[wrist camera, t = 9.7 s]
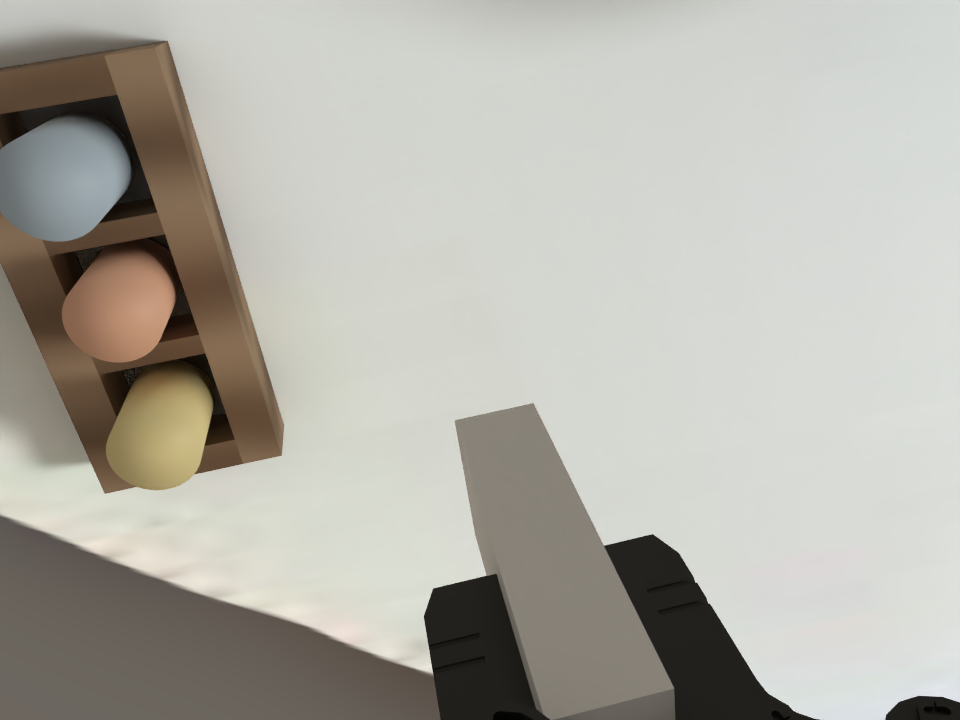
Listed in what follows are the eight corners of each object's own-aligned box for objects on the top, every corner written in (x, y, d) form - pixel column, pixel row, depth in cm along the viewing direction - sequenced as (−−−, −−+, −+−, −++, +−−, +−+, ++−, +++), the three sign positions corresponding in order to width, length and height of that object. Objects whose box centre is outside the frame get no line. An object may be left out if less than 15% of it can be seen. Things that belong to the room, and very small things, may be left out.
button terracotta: (80, 245, 37) (46, 286, 32) (167, 229, 37) (145, 267, 33) (111, 322, 39) (82, 370, 34) (192, 306, 39) (176, 352, 34)
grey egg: (19, 120, 33) (-30, 146, 28) (116, 104, 33) (83, 126, 29) (56, 212, 35) (15, 250, 30) (147, 195, 35) (121, 230, 31)
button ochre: (119, 369, 38) (91, 424, 34) (201, 352, 39) (185, 405, 34) (146, 437, 40) (124, 498, 36) (224, 420, 41) (212, 479, 36)
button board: (-48, 76, 33) (-79, 85, 31) (167, 41, 34) (155, 47, 31) (118, 461, 43) (105, 493, 40) (283, 425, 43) (281, 455, 41)
